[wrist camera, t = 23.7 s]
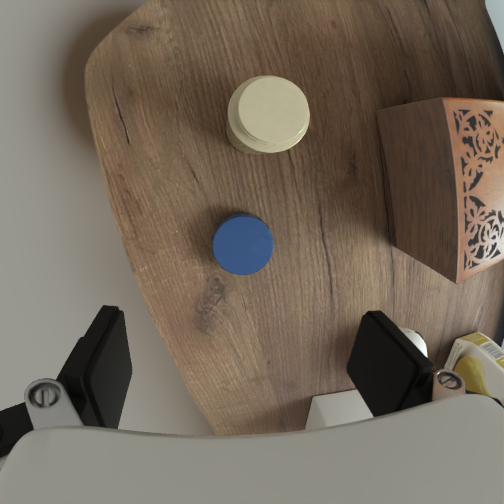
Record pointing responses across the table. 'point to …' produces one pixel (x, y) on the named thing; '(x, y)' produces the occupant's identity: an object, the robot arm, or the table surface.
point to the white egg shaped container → (415, 339)
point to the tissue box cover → (447, 182)
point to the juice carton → (478, 364)
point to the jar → (266, 115)
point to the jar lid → (242, 244)
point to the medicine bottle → (337, 409)
